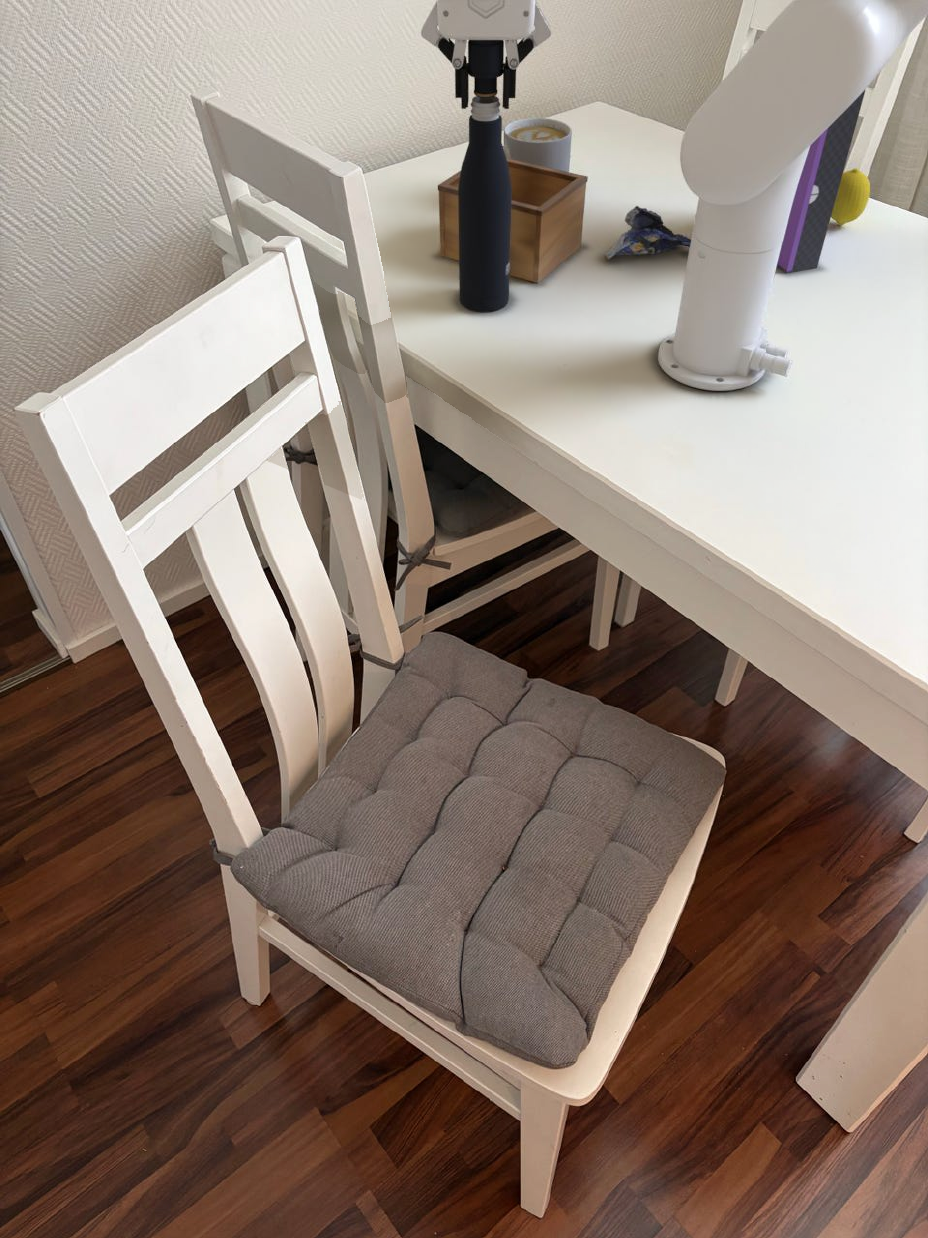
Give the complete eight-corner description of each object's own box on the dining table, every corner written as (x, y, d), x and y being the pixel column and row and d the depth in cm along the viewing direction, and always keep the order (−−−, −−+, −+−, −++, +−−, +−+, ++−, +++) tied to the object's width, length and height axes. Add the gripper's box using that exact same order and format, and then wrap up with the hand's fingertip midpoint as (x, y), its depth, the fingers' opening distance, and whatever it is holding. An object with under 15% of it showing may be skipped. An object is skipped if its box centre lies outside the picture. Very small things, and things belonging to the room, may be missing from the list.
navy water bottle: (453, 292, 125) (448, 34, 103) (499, 285, 126) (504, 28, 104) (468, 315, 120) (466, 51, 99) (515, 307, 122) (524, 45, 100)
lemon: (867, 229, 137) (885, 172, 131) (836, 236, 135) (852, 178, 130) (844, 214, 140) (860, 158, 134) (812, 220, 139) (827, 164, 133)
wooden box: (581, 246, 134) (587, 176, 127) (538, 283, 126) (542, 211, 119) (486, 221, 140) (487, 153, 132) (439, 255, 132) (437, 184, 125)
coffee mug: (559, 183, 149) (563, 115, 142) (573, 210, 142) (578, 139, 135) (475, 189, 148) (475, 121, 140) (486, 216, 141) (486, 146, 133)
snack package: (595, 233, 137) (605, 269, 128) (607, 188, 132) (618, 222, 124) (674, 246, 138) (689, 282, 130) (689, 201, 134) (705, 236, 126)
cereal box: (722, 220, 139) (758, 35, 122) (751, 215, 140) (790, 31, 123) (786, 273, 128) (835, 77, 110) (816, 267, 129) (870, 72, 111)
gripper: (399, -89, 91) (408, 116, 104) (574, -90, 90) (561, 117, 103) (405, -105, 96) (413, 92, 109) (570, -105, 95) (558, 93, 109)
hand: (485, 102), depth 106 cm, fingers closed on navy water bottle, 4 cm apart
